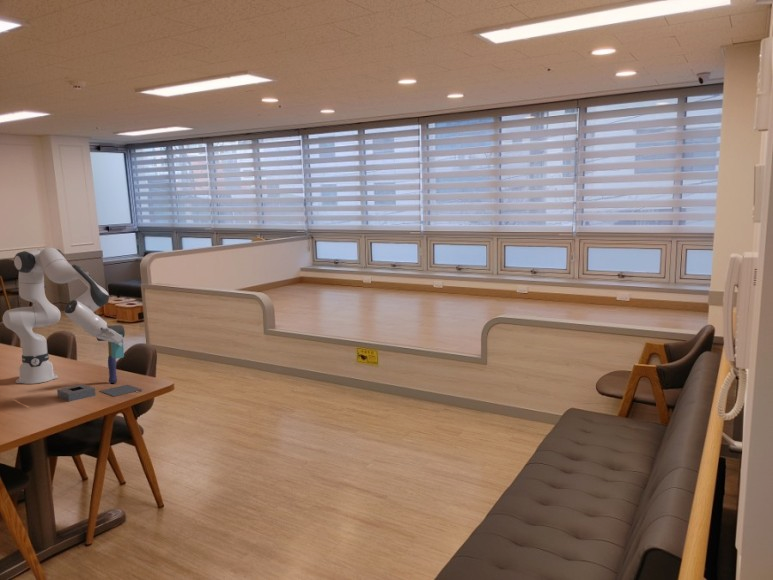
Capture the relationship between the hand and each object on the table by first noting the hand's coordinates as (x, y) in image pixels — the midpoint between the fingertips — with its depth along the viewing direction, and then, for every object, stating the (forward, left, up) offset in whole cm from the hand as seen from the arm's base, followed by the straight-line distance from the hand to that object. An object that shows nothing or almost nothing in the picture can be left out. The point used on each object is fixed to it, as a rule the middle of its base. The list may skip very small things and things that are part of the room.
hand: (118, 344), depth 277 cm
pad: (0, 0, -24) cm, 24 cm away
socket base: (-1, -19, -24) cm, 30 cm away
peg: (0, -1, -6) cm, 6 cm away
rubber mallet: (-18, -2, -24) cm, 30 cm away
